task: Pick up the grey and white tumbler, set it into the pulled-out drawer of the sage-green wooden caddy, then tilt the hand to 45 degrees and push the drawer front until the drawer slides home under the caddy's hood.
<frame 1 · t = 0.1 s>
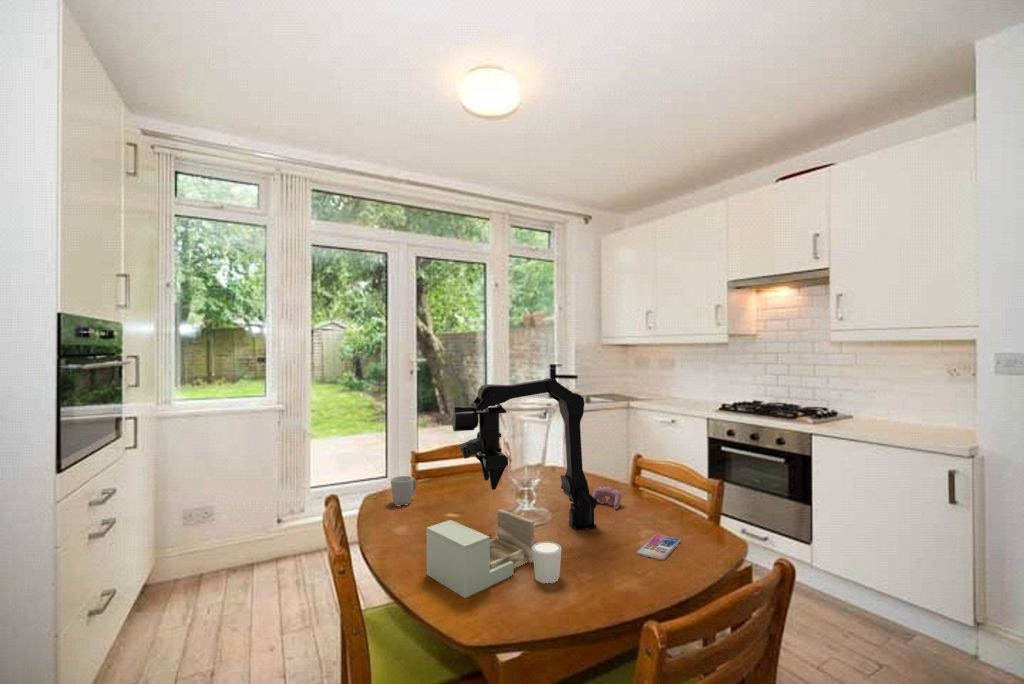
hand: (489, 484, 131), 15 cm above the table, tool pointing down, fingers open, 9 cm apart
smartphone: (659, 549, 123), on the table
cup: (404, 503, 161), on the table
drawer: (497, 542, 115), point 5 cm above the table, slide at 7.0 cm
video game controller: (606, 506, 156), on the table
grey and white tumbler: (547, 578, 107), on the table
caddy: (469, 575, 109), on the table
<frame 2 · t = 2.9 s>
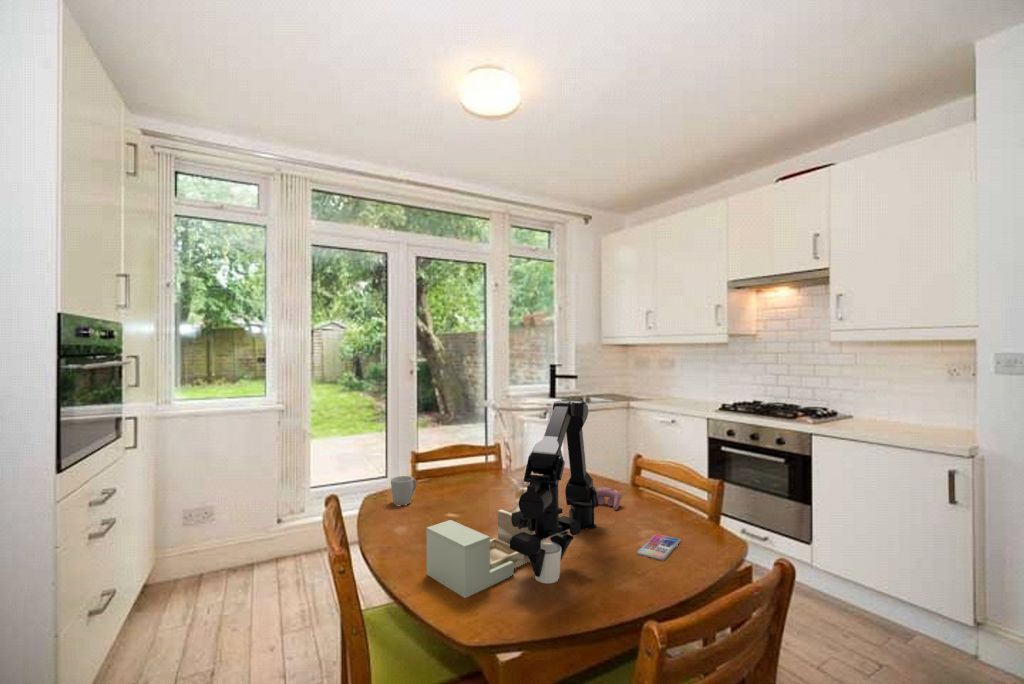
hand: (546, 571, 107), 1 cm above the table, tool pointing down, fingers closed on grey and white tumbler, 6 cm apart
grey and white tumbler: (546, 578, 107), on the table, touching gripper
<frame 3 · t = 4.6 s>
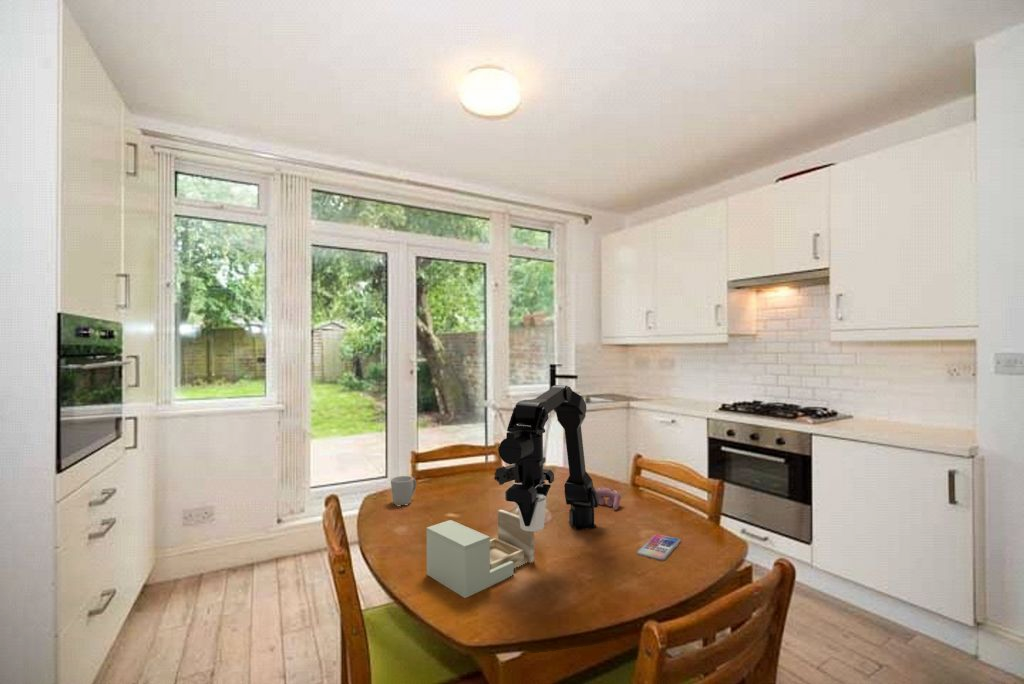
hand: (531, 521, 109), 12 cm above the table, tool pointing down, fingers closed on grey and white tumbler, 6 cm apart
grey and white tumbler: (532, 527, 109), point 11 cm above the table, touching gripper
when the fingers open (4 cm above the table, at t = 6.6 s): grey and white tumbler drops 1 cm, resting on drawer.
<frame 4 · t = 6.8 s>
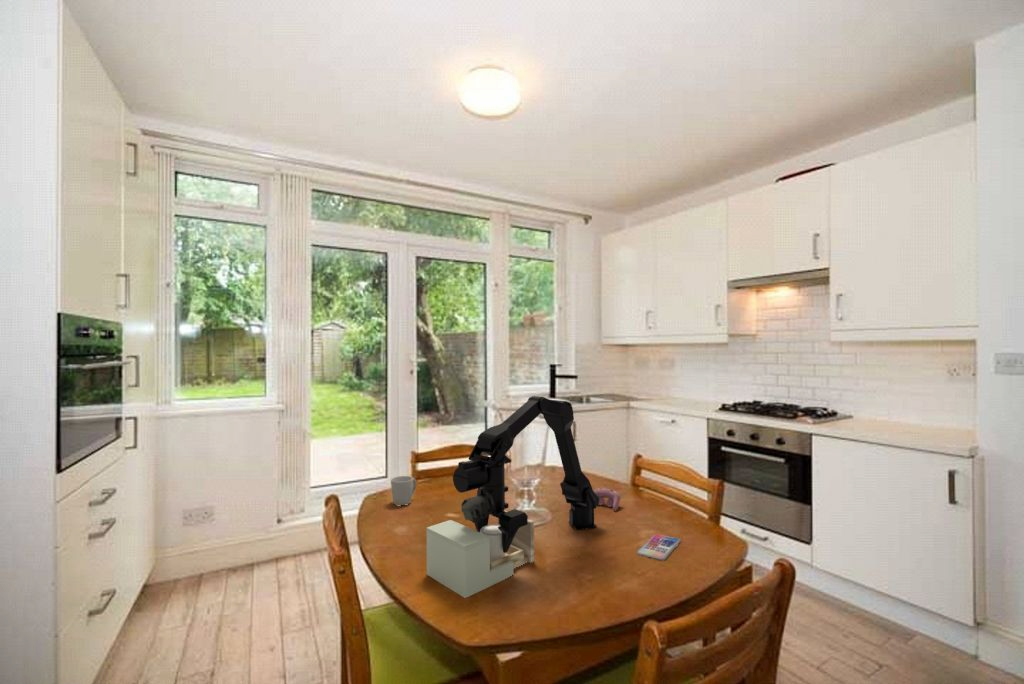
hand: (493, 547, 114), 4 cm above the table, tool pointing down, fingers open, 8 cm apart
drawer: (497, 542, 115), point 5 cm above the table, slide at 7.0 cm, touching grey and white tumbler
grey and white tumbler: (494, 558, 114), point 1 cm above the table, touching drawer
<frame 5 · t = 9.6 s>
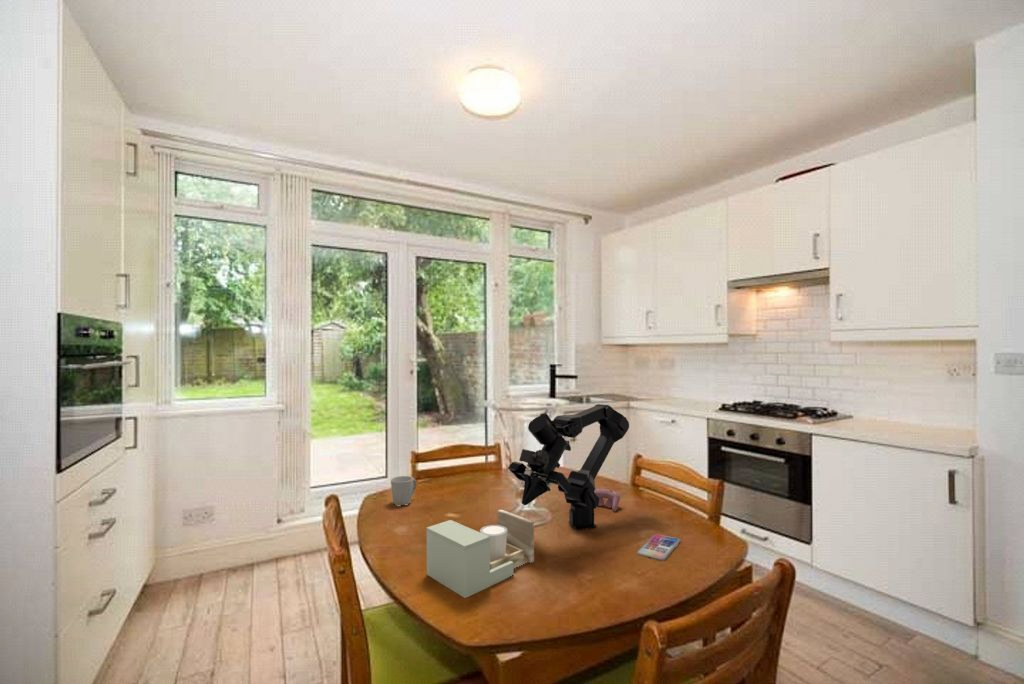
hand: (523, 504, 122), 12 cm above the table, tool tilted 45°, fingers closed
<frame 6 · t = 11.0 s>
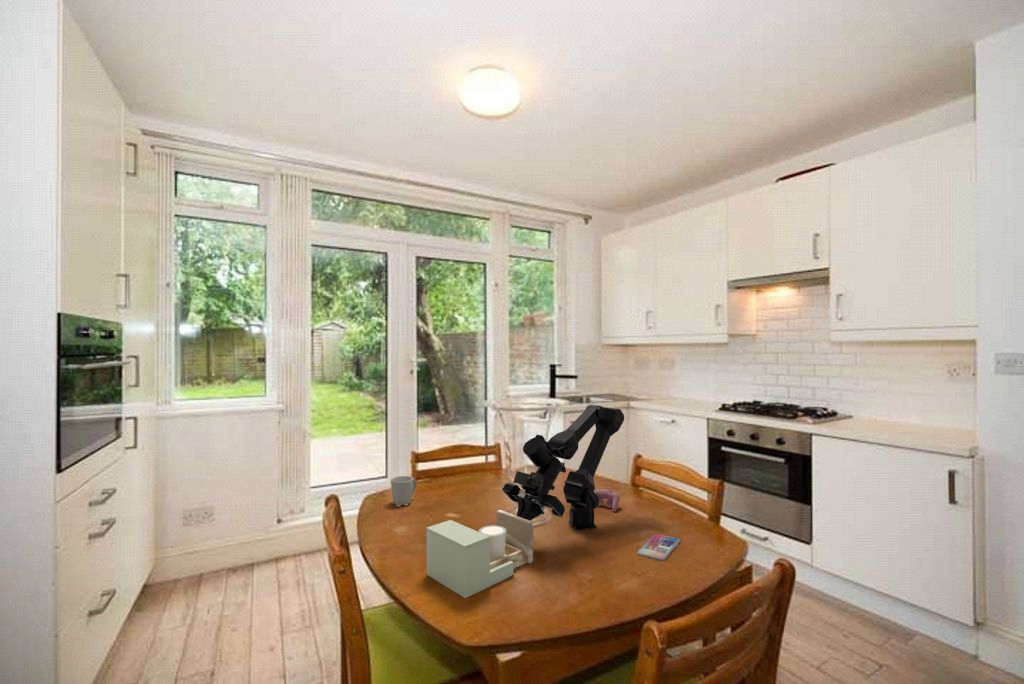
hand: (516, 527, 120), 7 cm above the table, tool tilted 45°, fingers closed, pressing on drawer
drawer: (496, 542, 115), point 5 cm above the table, slide at 6.6 cm, touching gripper, grey and white tumbler
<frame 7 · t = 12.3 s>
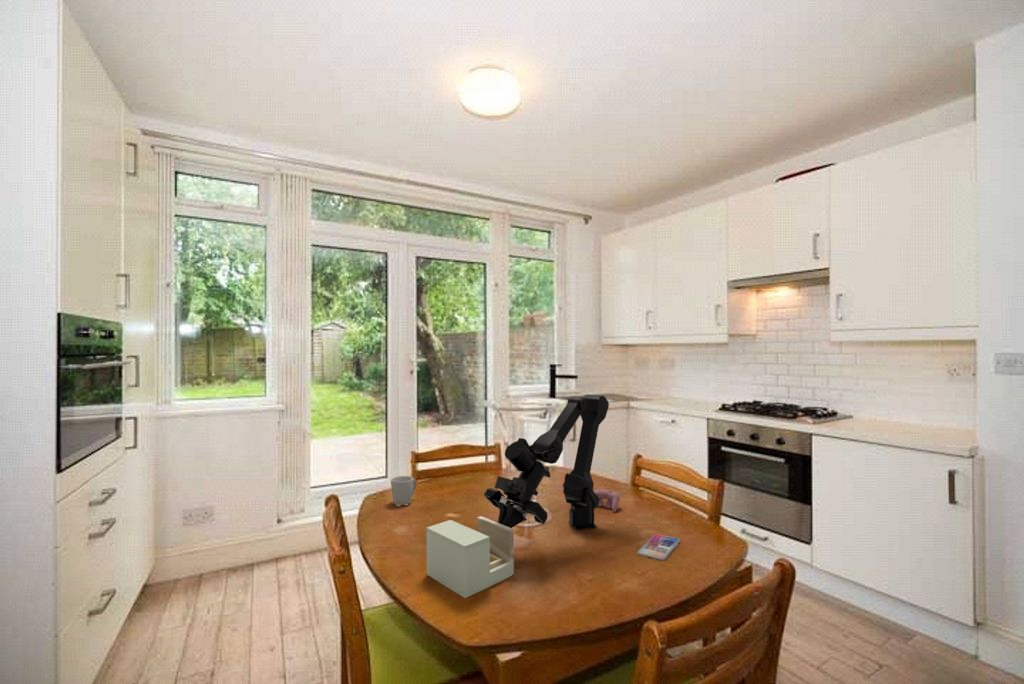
hand: (497, 535, 115), 7 cm above the table, tool tilted 45°, fingers closed, pressing on drawer
drawer: (475, 551, 110), point 5 cm above the table, slide at 0.0 cm, touching gripper, grey and white tumbler
grey and white tumbler: (471, 568, 109), point 1 cm above the table, touching drawer
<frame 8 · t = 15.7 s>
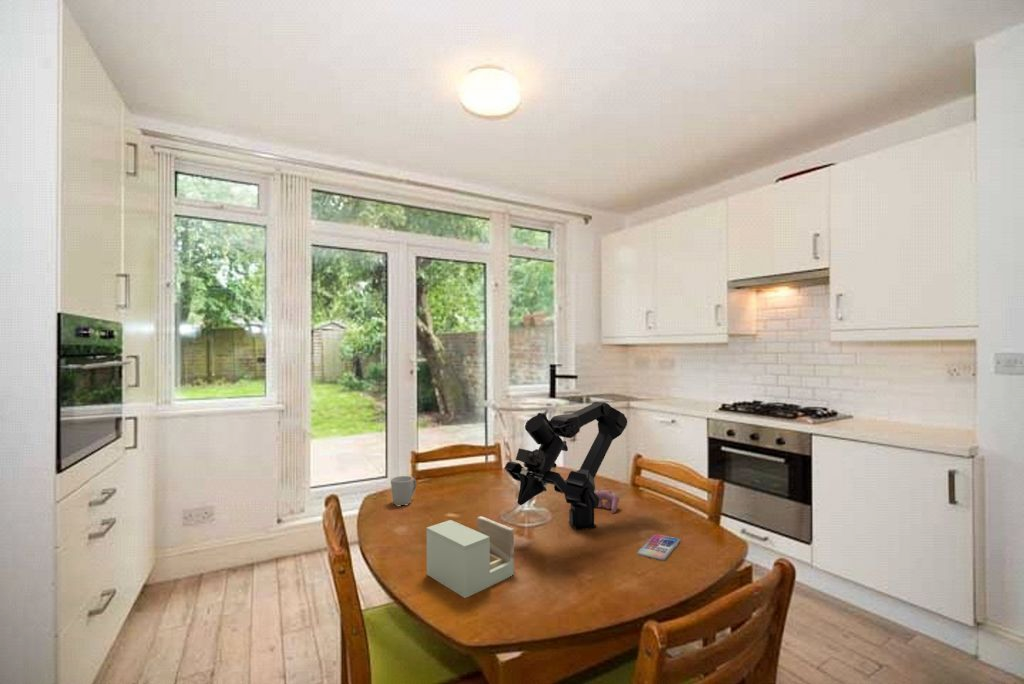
hand: (519, 504, 121), 13 cm above the table, tool tilted 45°, fingers closed
drawer: (475, 551, 110), point 5 cm above the table, slide at 0.0 cm, touching grey and white tumbler
at the end: drawer slide at 0.0 cm; grey and white tumbler 0.7 cm from the caddy (horizontally); grey and white tumbler tilted 0° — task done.
